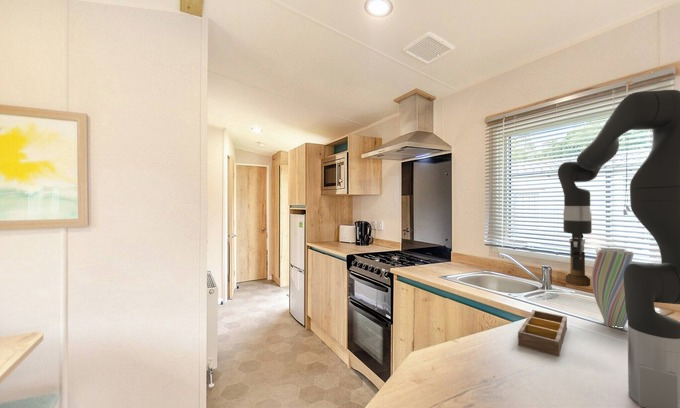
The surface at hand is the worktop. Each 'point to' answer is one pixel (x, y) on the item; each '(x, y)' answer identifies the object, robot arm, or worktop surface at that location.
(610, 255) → the vase
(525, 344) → the rack
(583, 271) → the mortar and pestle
